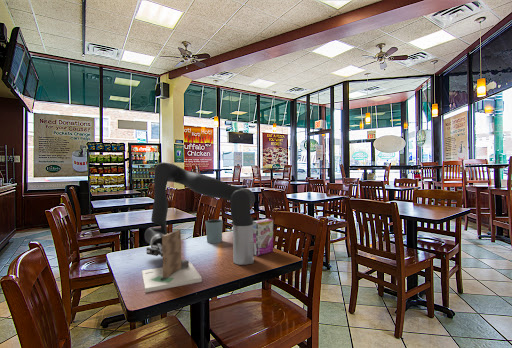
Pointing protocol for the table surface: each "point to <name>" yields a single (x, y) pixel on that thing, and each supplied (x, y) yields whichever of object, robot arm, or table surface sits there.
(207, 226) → the grey-blue bumpy cylinder
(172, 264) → the brown flat streaked slab
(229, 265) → the table surface
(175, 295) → the table surface
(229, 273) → the table surface
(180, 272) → the plate
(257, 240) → the candy bar box
